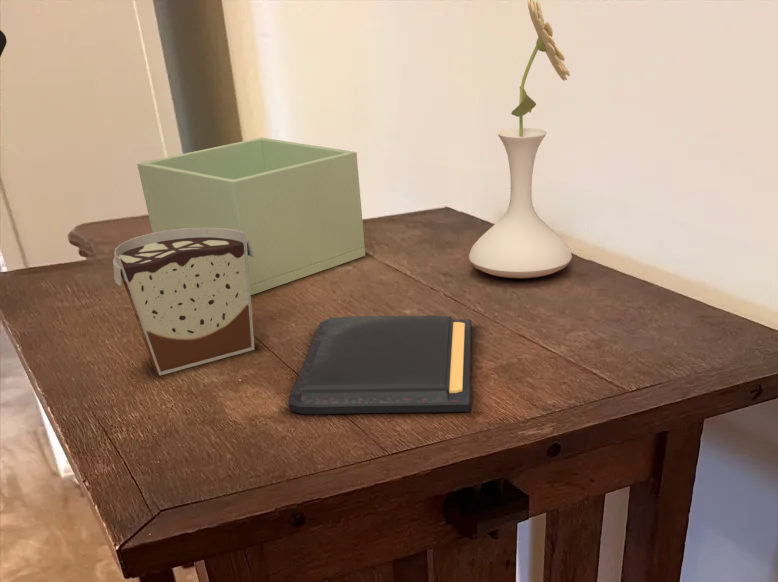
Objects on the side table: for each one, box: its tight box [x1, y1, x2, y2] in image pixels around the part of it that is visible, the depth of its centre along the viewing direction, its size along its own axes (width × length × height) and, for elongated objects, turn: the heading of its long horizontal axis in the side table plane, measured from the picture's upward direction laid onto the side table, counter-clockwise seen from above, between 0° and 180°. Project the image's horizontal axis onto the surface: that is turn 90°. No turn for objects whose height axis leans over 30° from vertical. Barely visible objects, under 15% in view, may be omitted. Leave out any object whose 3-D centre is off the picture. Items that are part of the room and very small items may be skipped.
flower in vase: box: [468, 0, 573, 279], centre depth 95 cm, size 13×11×25 cm
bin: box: [136, 137, 366, 296], centre depth 103 cm, size 16×18×11 cm
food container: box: [112, 228, 256, 377], centre depth 81 cm, size 12×6×10 cm, turn 130°
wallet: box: [288, 315, 472, 415], centre depth 80 cm, size 20×2×15 cm
